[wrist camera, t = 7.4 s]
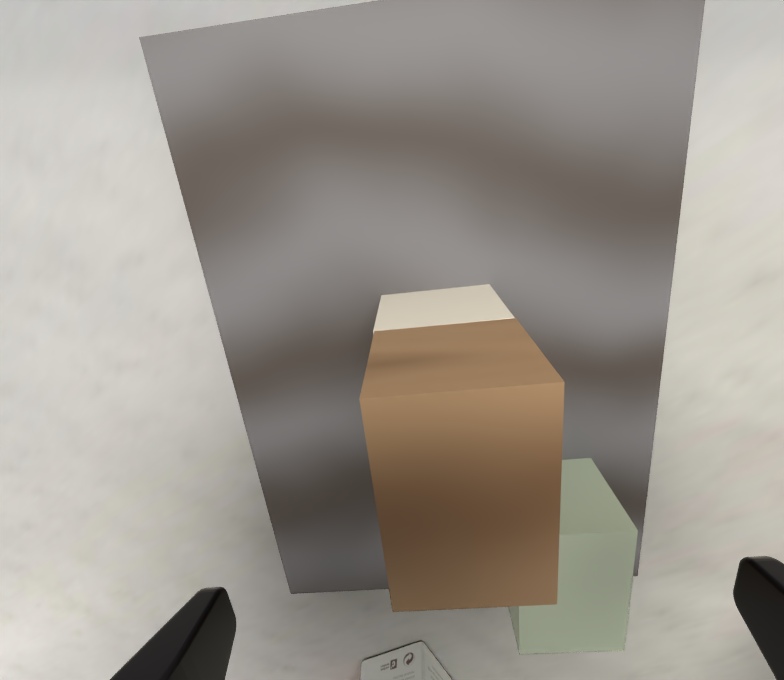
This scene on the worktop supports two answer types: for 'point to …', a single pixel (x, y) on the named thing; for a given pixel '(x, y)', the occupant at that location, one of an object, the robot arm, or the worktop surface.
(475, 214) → the slate board
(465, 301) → the cream brick
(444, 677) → the skincare box
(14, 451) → the worktop surface
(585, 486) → the sage brick
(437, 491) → the walnut brick
